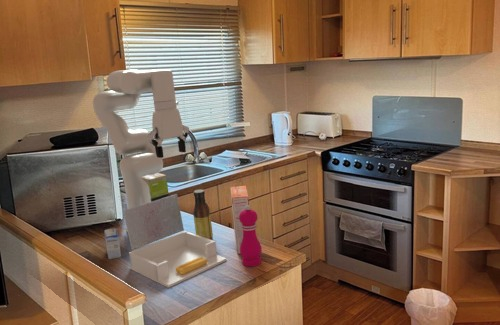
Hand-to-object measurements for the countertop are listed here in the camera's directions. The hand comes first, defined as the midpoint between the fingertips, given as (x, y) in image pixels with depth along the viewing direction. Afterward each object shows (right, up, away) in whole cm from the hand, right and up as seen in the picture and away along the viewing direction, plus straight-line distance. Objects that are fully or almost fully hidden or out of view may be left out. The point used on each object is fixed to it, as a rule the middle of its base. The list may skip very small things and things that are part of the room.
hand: (171, 154), depth 167 cm
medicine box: (-22, -36, +6) cm, 43 cm away
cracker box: (+25, -33, +4) cm, 42 cm away
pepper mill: (+28, -36, -9) cm, 47 cm away
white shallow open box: (+3, -37, -6) cm, 38 cm away
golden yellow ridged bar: (+9, -37, -12) cm, 40 cm away
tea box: (-20, -23, +65) cm, 71 cm away
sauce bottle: (+11, -33, +12) cm, 36 cm away
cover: (-5, -23, -2) cm, 24 cm away
